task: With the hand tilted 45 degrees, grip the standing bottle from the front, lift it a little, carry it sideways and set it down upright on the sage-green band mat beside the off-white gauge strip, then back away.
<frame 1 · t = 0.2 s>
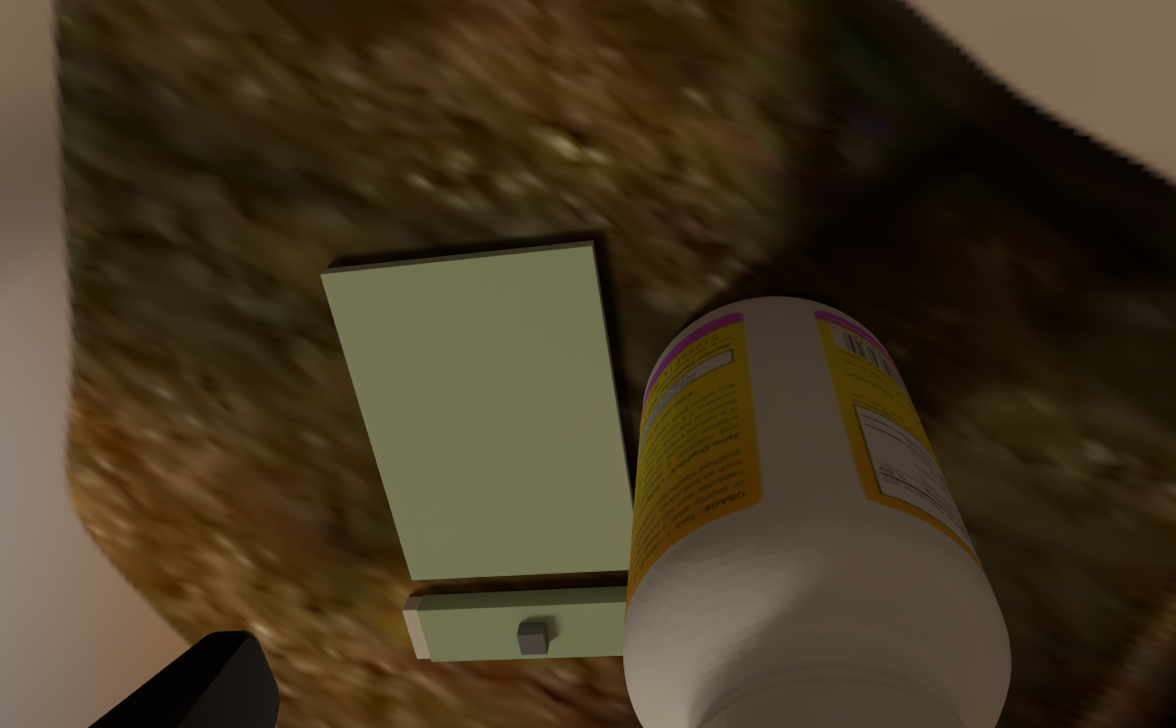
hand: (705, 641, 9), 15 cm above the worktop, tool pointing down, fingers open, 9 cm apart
supplement bottle: (770, 398, 24), on the worktop
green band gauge: (494, 424, 25), on the worktop
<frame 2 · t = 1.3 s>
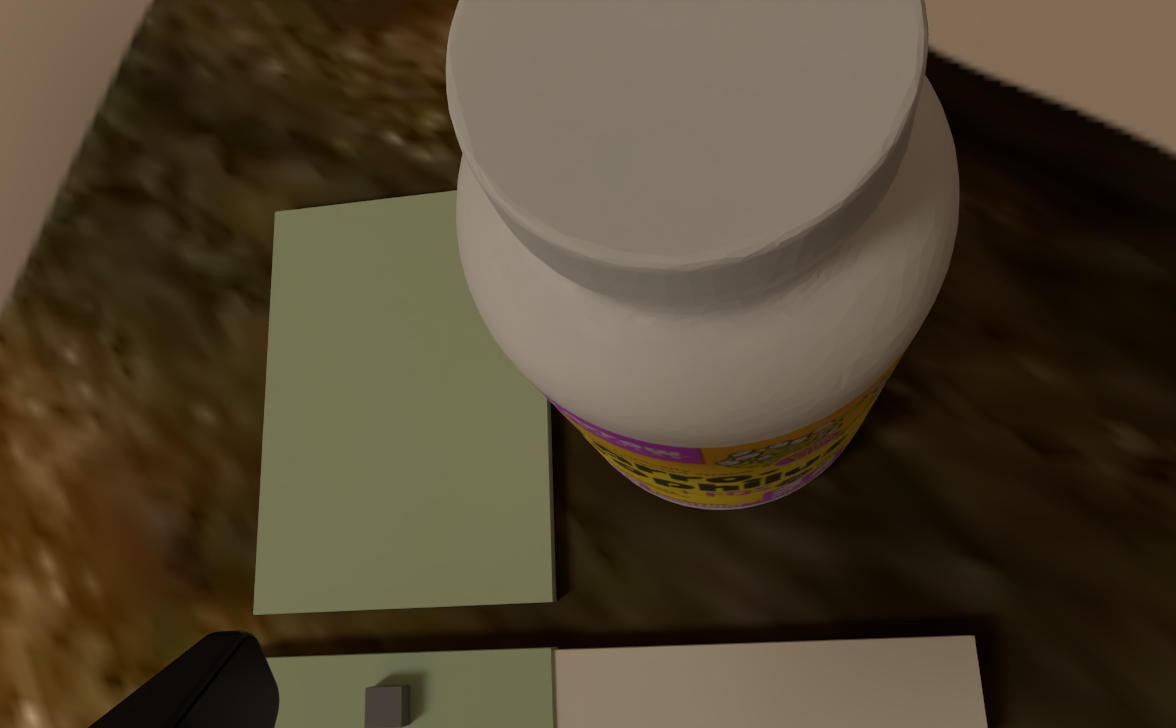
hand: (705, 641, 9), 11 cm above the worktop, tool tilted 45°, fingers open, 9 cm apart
supplement bottle: (722, 370, 21), on the worktop
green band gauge: (408, 393, 22), on the worktop
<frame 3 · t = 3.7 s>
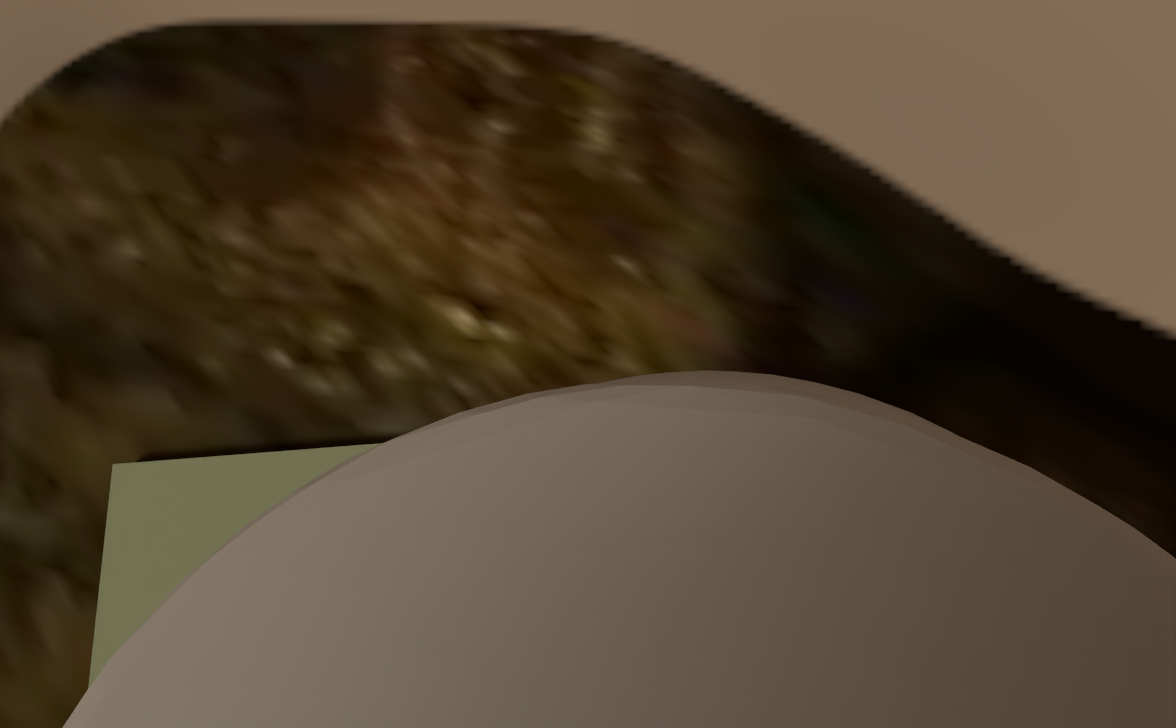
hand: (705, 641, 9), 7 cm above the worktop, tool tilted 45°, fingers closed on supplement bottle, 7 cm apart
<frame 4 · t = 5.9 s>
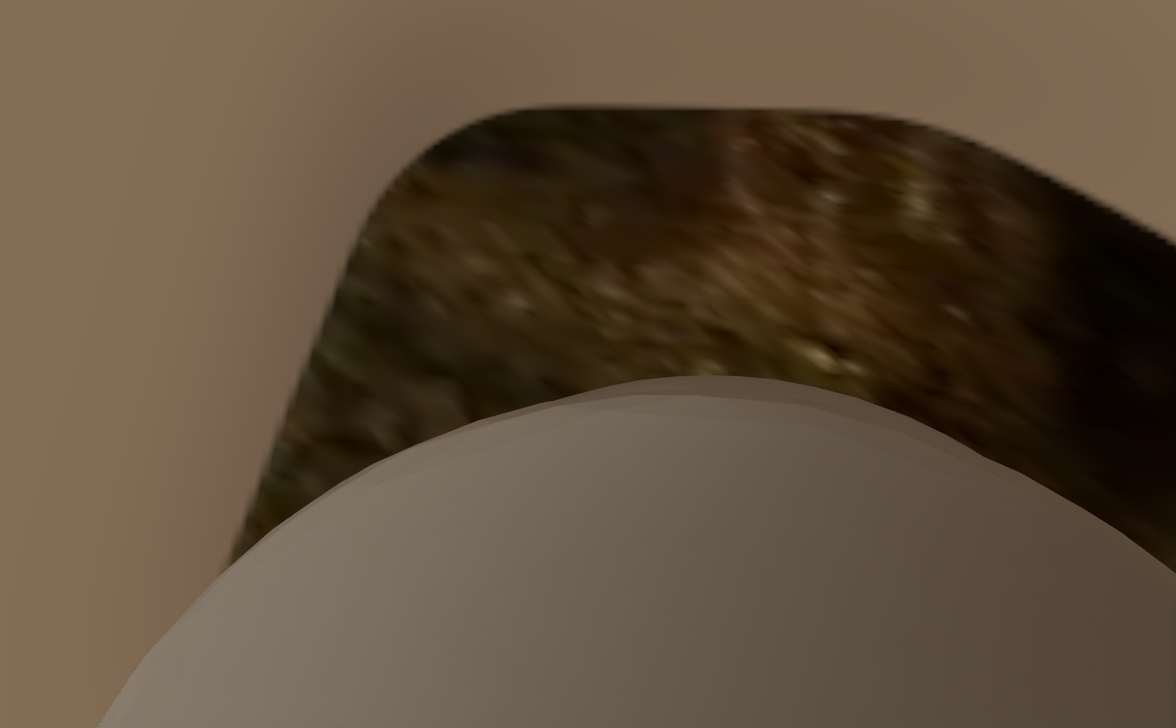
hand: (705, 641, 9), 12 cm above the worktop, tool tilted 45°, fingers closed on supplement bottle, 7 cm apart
when the fingers open (8 cm above the worktop, at t = 7.7 s): supplement bottle stays where it is, resting on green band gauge.
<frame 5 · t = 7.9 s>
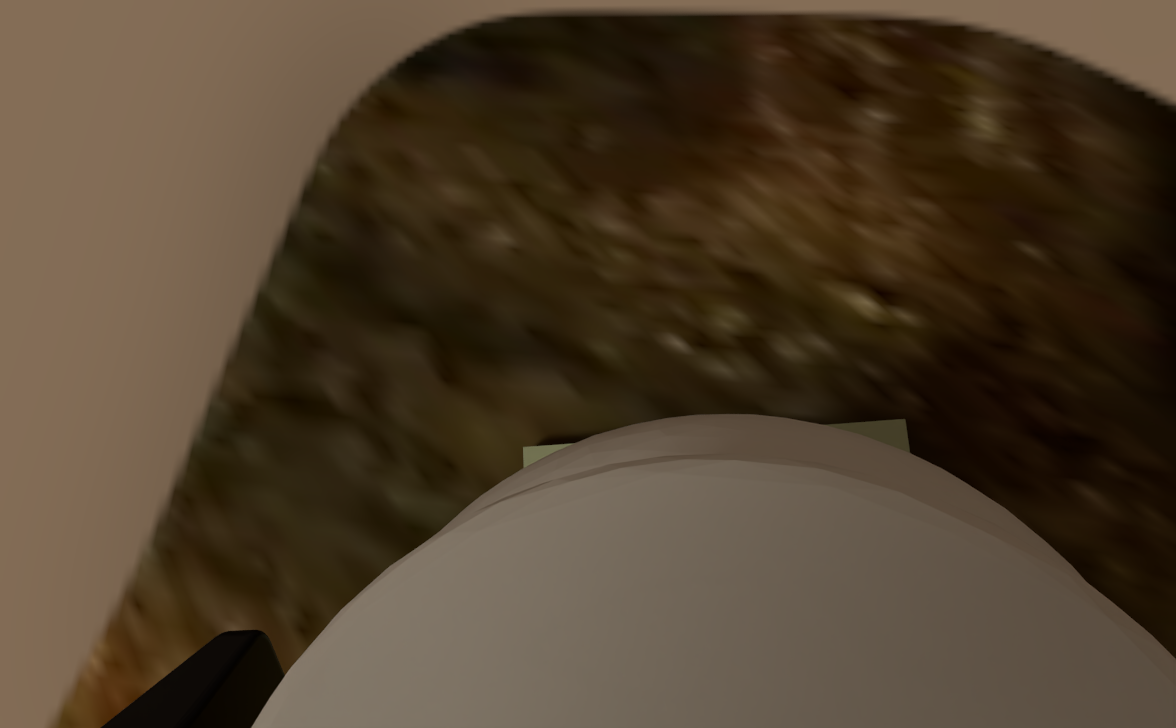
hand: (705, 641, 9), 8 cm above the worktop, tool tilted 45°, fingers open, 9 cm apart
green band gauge: (731, 721, 16), on the worktop
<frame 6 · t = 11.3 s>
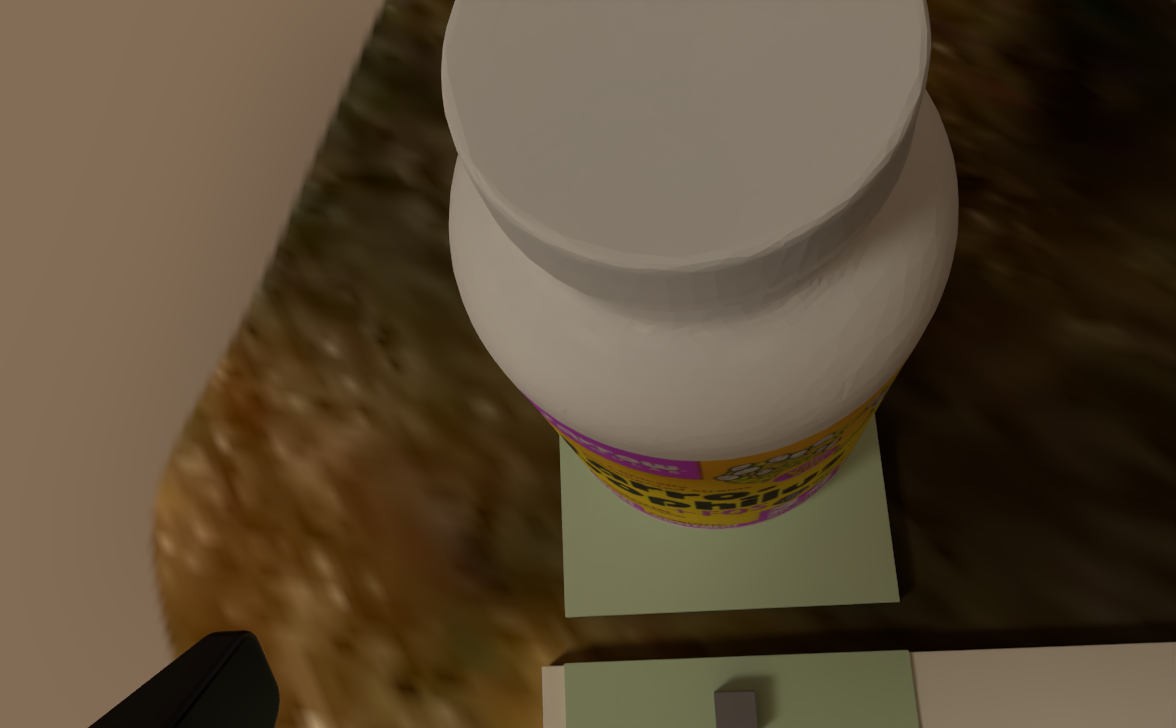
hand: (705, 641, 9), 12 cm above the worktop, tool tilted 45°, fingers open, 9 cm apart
supplement bottle: (714, 389, 21), resting on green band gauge
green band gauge: (710, 386, 21), on the worktop
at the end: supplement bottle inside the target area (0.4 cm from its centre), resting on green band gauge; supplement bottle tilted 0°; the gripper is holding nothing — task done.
